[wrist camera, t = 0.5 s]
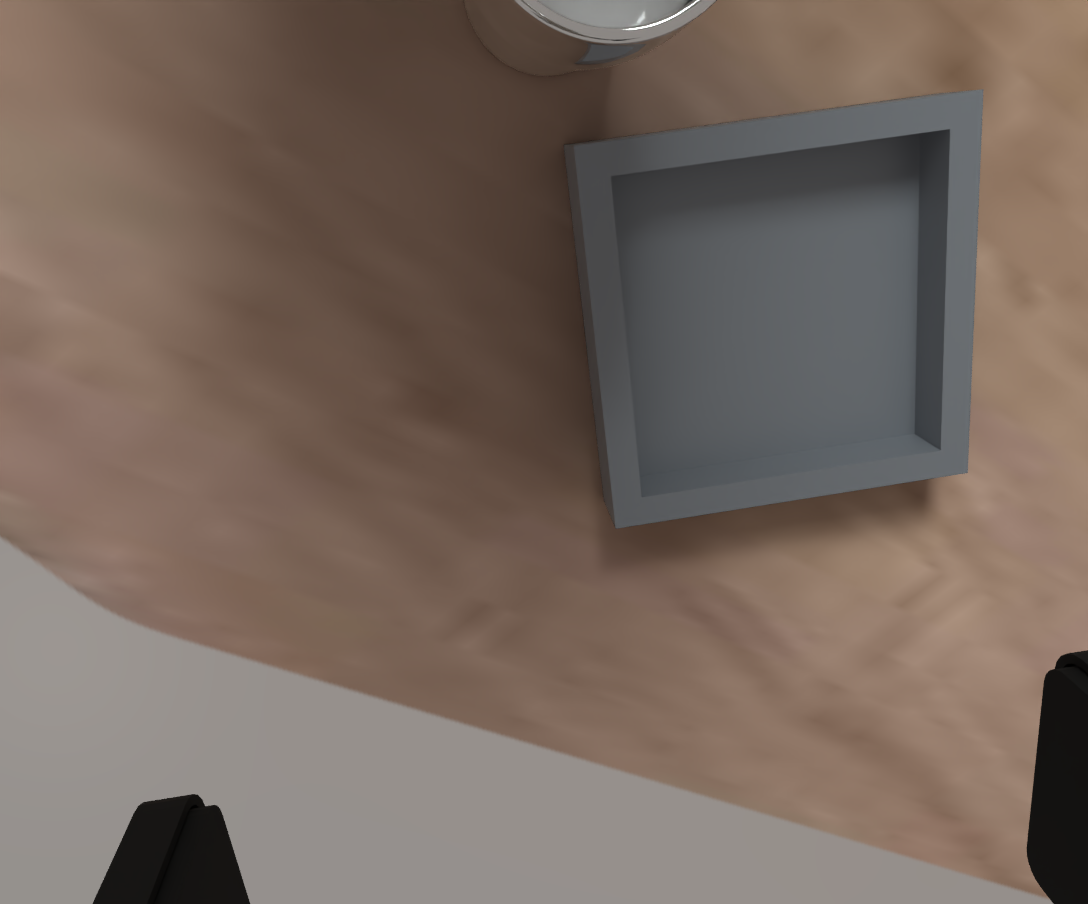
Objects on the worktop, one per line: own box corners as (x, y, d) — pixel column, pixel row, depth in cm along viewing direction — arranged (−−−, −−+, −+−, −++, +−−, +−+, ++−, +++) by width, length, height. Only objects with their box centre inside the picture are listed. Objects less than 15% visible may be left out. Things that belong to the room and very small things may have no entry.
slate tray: (563, 144, 34) (573, 145, 31) (940, 93, 35) (983, 89, 32) (603, 500, 39) (615, 528, 36) (931, 449, 40) (967, 472, 37)
